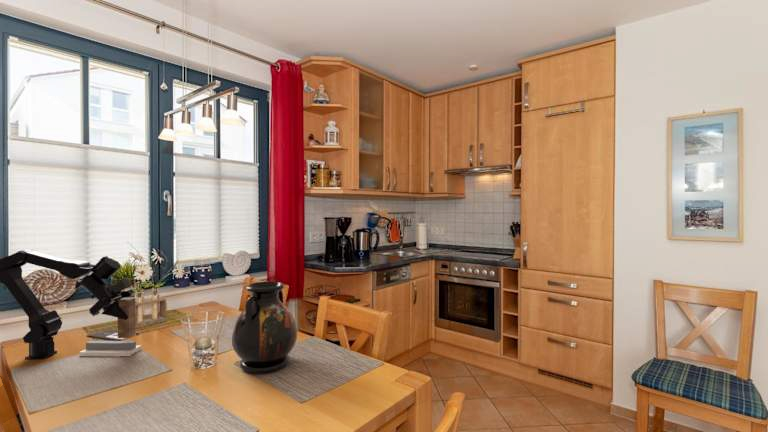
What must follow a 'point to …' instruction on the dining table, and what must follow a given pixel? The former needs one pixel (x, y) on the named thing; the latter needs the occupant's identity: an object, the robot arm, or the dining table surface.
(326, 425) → the dining table surface
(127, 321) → the walnut baton
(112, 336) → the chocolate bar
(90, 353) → the board
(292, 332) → the amphora vase
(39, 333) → the robot arm
